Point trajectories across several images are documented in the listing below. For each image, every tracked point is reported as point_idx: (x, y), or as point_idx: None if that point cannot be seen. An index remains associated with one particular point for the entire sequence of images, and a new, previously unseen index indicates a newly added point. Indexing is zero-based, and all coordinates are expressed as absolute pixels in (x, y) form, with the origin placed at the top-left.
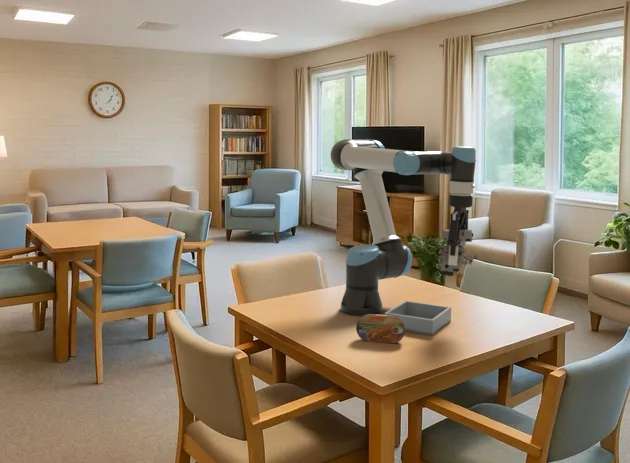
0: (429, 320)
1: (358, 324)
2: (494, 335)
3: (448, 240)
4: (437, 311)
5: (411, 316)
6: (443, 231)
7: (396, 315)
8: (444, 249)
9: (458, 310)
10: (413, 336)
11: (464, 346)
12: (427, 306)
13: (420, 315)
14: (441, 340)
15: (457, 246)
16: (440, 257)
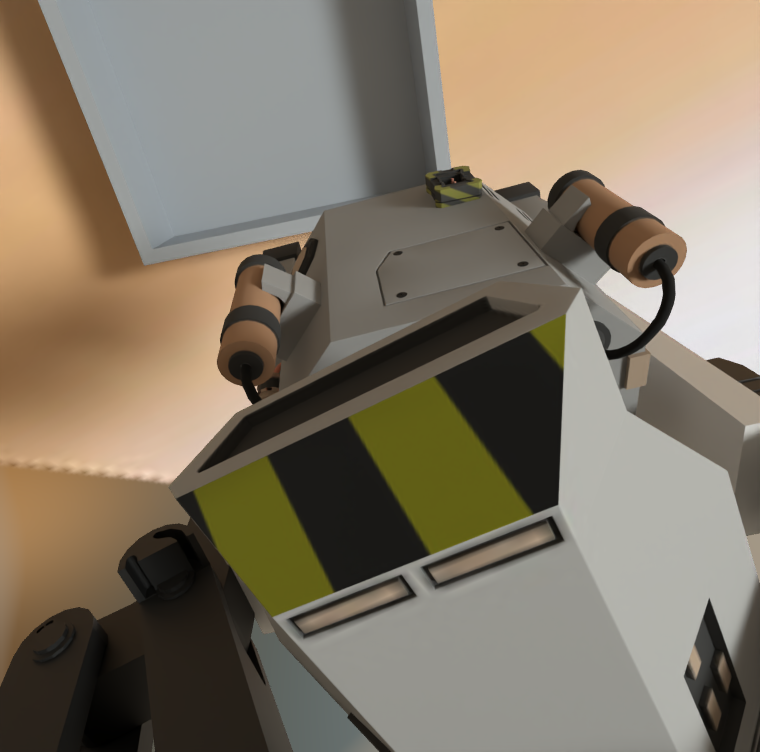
0: (137, 244)
1: None
2: None
3: (2, 699)
4: (425, 119)
5: (100, 121)
6: (356, 517)
7: (44, 11)
8: (295, 361)
9: (669, 112)
10: (84, 182)
11: (165, 409)
12: (418, 40)
13: (398, 4)
14: (150, 311)
15: (261, 625)
16: (321, 246)
